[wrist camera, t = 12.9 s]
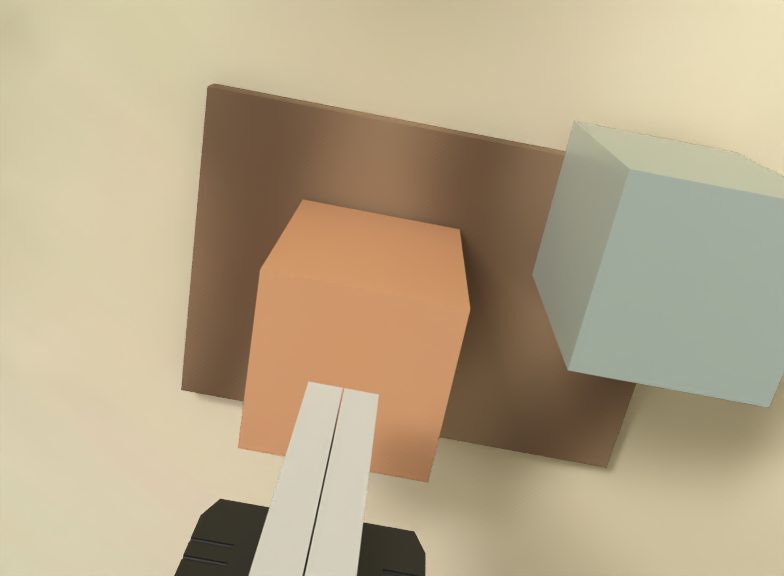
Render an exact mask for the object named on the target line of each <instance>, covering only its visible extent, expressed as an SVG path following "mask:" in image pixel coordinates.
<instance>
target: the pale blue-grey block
mask: <svg viewBox="0 0 784 576" xmlns="http://www.w3.org/2000/svg"><path fill="white" fill-rule="evenodd" d="M532 276H533V278H534V281H535V284H536V286H537V289H538V292H539V294H540V297H541V300H542V302H543V305H544V308H545V311H546V313H547V316H548V319H549V321H550V324H551V327H552V329H553V332H554V335H555V337H556V340H557V343H558V346H559V348H560V351H561V354H562V356H563V359H564V362H565V364H566V367H567V370H569V371H574V372H580V373H585V374H590V375H596V376H601V377H606V378H612V379H617V380H623V381H628V382H633V383H639V384H644V385H650V386H655V387H660V388H666V389H671V390H676V391H682V392H687V393H693V394H698V395H703V396H709V397H714V398H720V399H725V400H730V401H736V402H741V403H746V404H752V405H757V406H763V407H768V408H769V406H770V404H771V401H772V399H773V397H774V394H775V392H776V390H777V387H778V385H779V383H780V381H781V378H782V376H783V374H784V176H782V175H780V174H778V173H776V172H774V171H772V170H770V169H768V168H766V167H764V166H762V165H760V164H758V163H756V162H754V161H752V160H751V159H749V158H747V157H745V156H743V155H741V154H739V153H737V152H732V151H726V150H721V149H716V148H711V147H706V146H701V145H696V144H690V143H685V142H680V141H675V140H670V139H665V138H660V137H654V136H649V135H644V134H639V133H634V132H629V131H624V130H618V129H613V128H608V127H603V126H598V125H593V124H588V123H582V122H577V121H574V124H573V127H572V131H571V135H570V138H569V142H568V146H567V149H566V153H565V157H564V160H563V164H562V168H561V171H560V175H559V179H558V182H557V186H556V190H555V193H554V197H553V200H552V204H551V208H550V211H549V215H548V219H547V222H546V226H545V230H544V233H543V237H542V241H541V244H540V248H539V252H538V255H537V259H536V263H535V266H534V270H533V274H532Z"/></svg>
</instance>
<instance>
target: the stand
mask: <svg viewBox="0 0 784 576" xmlns="http://www.w3.org/2000/svg"><path fill="white" fill-rule="evenodd" d="M565 153H566V152H565V151H560V150H555V149H550V148H545V147H539V146H534V145H529V144H524V143H519V142H514V141H508V140H503V139H498V138H493V137H488V136H483V135H477V134H472V133H467V132H462V131H457V130H452V129H446V128H441V127H436V126H431V125H426V124H421V123H415V122H410V121H405V120H400V119H395V118H390V117H384V116H379V115H374V114H369V113H364V112H358V111H353V110H348V109H343V108H338V107H333V106H327V105H322V104H317V103H312V102H307V101H302V100H296V99H291V98H286V97H281V96H276V95H271V94H265V93H260V92H255V91H250V90H245V89H240V88H234V87H229V86H224V85H219V84H213V85H210V86H208V88H207V100H206V111H205V123H204V134H203V146H202V157H201V169H200V180H199V192H198V204H197V215H196V227H195V238H194V250H193V261H192V273H191V284H190V296H189V307H188V319H187V330H186V342H185V353H184V365H183V376H182V388H181V390H185V391H190V392H196V393H201V394H207V395H212V396H217V397H223V398H228V399H234V400H239V401H244V395H245V387H246V379H247V371H248V363H249V355H250V347H251V339H252V331H253V323H254V315H255V307H256V299H257V291H258V283H259V275H260V269H261V267H262V266H263V264H264V263H265V261H266V259H267V258H268V256H269V254H270V253H271V251H272V249H273V248H274V246H275V245H276V243H277V241H278V240H279V238H280V236H281V235H282V233H283V231H284V230H285V228H286V226H287V225H288V223H289V222H290V220H291V218H292V217H293V215H294V213H295V212H296V210H297V208H298V207H299V205H300V203H301V202H302V200H308V201H313V202H319V203H324V204H329V205H334V206H340V207H345V208H350V209H356V210H361V211H366V212H371V213H377V214H382V215H387V216H392V217H398V218H403V219H408V220H413V221H419V222H424V223H429V224H434V225H440V226H445V227H450V228H455V229H460V236H461V243H462V251H463V258H464V266H465V273H466V280H467V288H468V295H469V303H470V313H469V317H468V321H467V325H466V329H465V333H464V337H463V341H462V345H461V350H460V354H459V358H458V362H457V366H456V370H455V374H454V378H453V382H452V386H451V390H450V395H449V399H448V403H447V407H446V411H445V415H444V419H443V423H442V427H441V431H440V435H439V437H442V438H447V439H453V440H458V441H464V442H469V443H475V444H480V445H486V446H491V447H497V448H502V449H508V450H513V451H519V452H524V453H530V454H535V455H541V456H546V457H552V458H557V459H563V460H568V461H573V462H579V463H584V464H590V465H595V466H601V467H606V468H607V465H608V462H609V459H610V456H611V453H612V450H613V448H614V445H615V442H616V439H617V436H618V433H619V430H620V428H621V425H622V422H623V419H624V416H625V413H626V411H627V408H628V405H629V402H630V399H631V396H632V393H633V391H634V388H635V385H636V383H633V382H628V381H623V380H617V379H612V378H606V377H601V376H596V375H590V374H585V373H580V372H574V371H569V370H567V367H566V364H565V362H564V359H563V356H562V354H561V351H560V348H559V346H558V343H557V340H556V337H555V335H554V332H553V329H552V327H551V324H550V321H549V319H548V316H547V313H546V311H545V308H544V305H543V302H542V300H541V297H540V294H539V292H538V289H537V286H536V284H535V281H534V278H533V276H532V274H533V270H534V266H535V263H536V259H537V255H538V252H539V248H540V244H541V241H542V237H543V233H544V230H545V226H546V222H547V219H548V215H549V211H550V208H551V204H552V200H553V197H554V193H555V190H556V186H557V182H558V179H559V175H560V171H561V168H562V164H563V160H564V157H565Z"/></svg>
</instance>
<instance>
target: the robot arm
mask: <svg viewBox="0 0 784 576" xmlns="http://www.w3.org/2000/svg"><path fill="white" fill-rule="evenodd" d="M342 391H343V388H341V387H336V386H330V385H325V384H319V383H314V382H308V385H307V388H306V391H305V394H304V398H303V401H302V404H301V407H300V411H299V414H298V417H297V420H296V424H295V427H294V430H293V433H292V437H291V440H290V443H289V446H288V450H287V453H286V456H285V459H284V462H283V466H282V469H281V472H280V475H279V479H278V482H277V485H276V488H275V492H274V495H273V498H272V501H271V505H270V508H269V507H263V506H258V505H252V504H247V503H241V502H236V501H230V500H224V499H219V500H218V501H217V502H216V503H215V504H213V505H212V506H211V507H210V508H209V509H208V510H206V511H205V512H204V513H203V514H202V515H201V516H200V518H199V520H198V523H197V525H196V527H195V530H194V532H193V534H192V536H191V540H190V541H189V543H188V546H187V548H186V550H185V553H184V555H183V559H181V562H180V564H179V566H178V569H177V571H176V573H175V575H174V576H425V552H424V550H423V548H422V546H421V544H420V542H419V540H418V538H417V536H416V534H415V532H414V531H408V530H402V529H397V528H391V527H386V526H380V525H374V524H369V523H363V520H364V512H365V503H366V495H367V487H368V479H369V471H370V463H371V455H372V446H373V438H374V430H375V422H376V414H377V406H378V398H379V394H374V393H368V392H363V391H357V390H352V389H347V388H344V393H343V397H342V402H341V396H342ZM340 402H341V407H340ZM339 407H340V412H339ZM338 413H339V416H338ZM337 418H338V421H337ZM336 424H337V426H336ZM335 429H336V430H335Z"/></svg>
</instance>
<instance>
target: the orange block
mask: <svg viewBox="0 0 784 576" xmlns="http://www.w3.org/2000/svg"><path fill="white" fill-rule="evenodd" d="M469 313H470V303H469V295H468V288H467V280H466V273H465V266H464V258H463V251H462V243H461V236H460V229H455V228H450V227H445V226H440V225H434V224H429V223H424V222H419V221H413V220H408V219H403V218H398V217H392V216H387V215H382V214H377V213H371V212H366V211H361V210H356V209H350V208H345V207H340V206H334V205H329V204H324V203H319V202H313V201H308V200H302V202H301V203H300V205H299V207H298V208H297V210H296V212H295V213H294V215H293V217H292V218H291V220H290V222H289V223H288V225H287V226H286V228H285V230H284V231H283V233H282V235H281V236H280V238H279V240H278V241H277V243H276V245H275V246H274V248H273V249H272V251H271V253H270V254H269V256H268V258H267V259H266V261H265V263H264V264H263V266H262V267H261V269H260V275H259V283H258V291H257V299H256V307H255V315H254V323H253V331H252V339H251V347H250V355H249V363H248V371H247V379H246V387H245V395H244V403H243V412H242V420H241V428H240V436H239V444H238V448H241V449H247V450H252V451H258V452H263V453H269V454H274V455H280V456H286V453H287V450H288V446H289V443H290V440H291V437H292V433H293V430H294V427H295V424H296V420H297V417H298V414H299V411H300V407H301V404H302V401H303V398H304V394H305V391H306V388H307V385H308V382H314V383H319V384H325V385H330V386H336V387H341V388H343V391H342V396H341V402H342V397H343V393H344V388H347V389H352V390H357V391H363V392H368V393H374V394H379V398H378V406H377V414H376V422H375V430H374V438H373V446H372V455H371V463H370V471H369V472H373V473H379V474H384V475H390V476H396V477H401V478H407V479H412V480H418V481H423V482H428V480H429V476H430V472H431V468H432V464H433V460H434V456H435V452H436V448H437V444H438V440H439V435H440V431H441V427H442V423H443V419H444V415H445V411H446V407H447V403H448V399H449V395H450V390H451V386H452V382H453V378H454V374H455V370H456V366H457V362H458V358H459V354H460V350H461V345H462V341H463V337H464V333H465V329H466V325H467V321H468V317H469ZM341 402H340V407H341ZM340 407H339V412H340ZM338 416H339V413H338ZM337 421H338V418H337ZM336 426H337V424H336ZM335 430H336V429H335Z"/></svg>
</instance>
